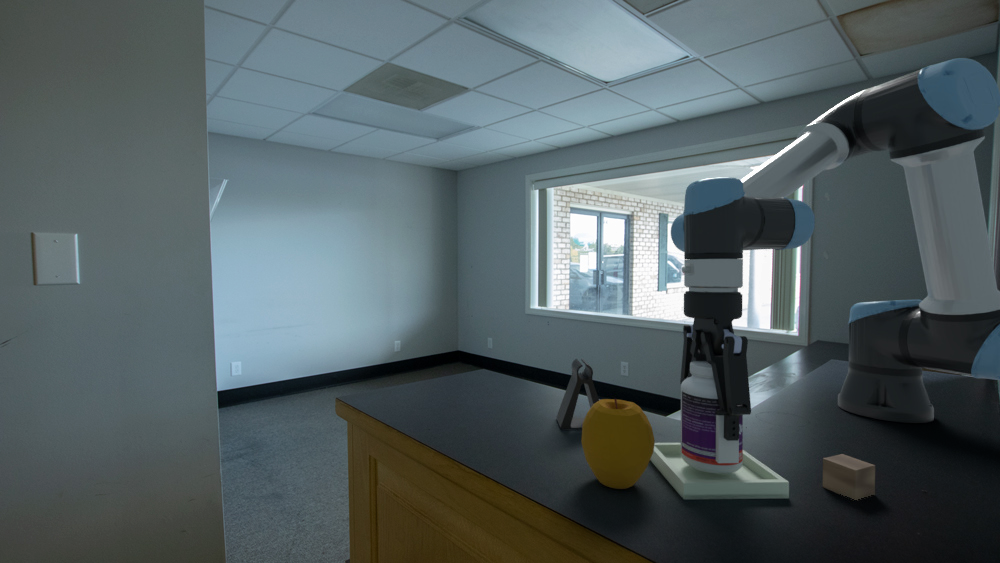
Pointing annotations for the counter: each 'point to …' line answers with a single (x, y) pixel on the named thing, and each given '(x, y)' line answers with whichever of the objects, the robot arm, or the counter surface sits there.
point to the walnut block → (849, 476)
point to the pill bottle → (703, 422)
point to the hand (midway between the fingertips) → (711, 448)
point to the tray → (718, 477)
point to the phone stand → (576, 396)
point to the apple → (617, 442)
